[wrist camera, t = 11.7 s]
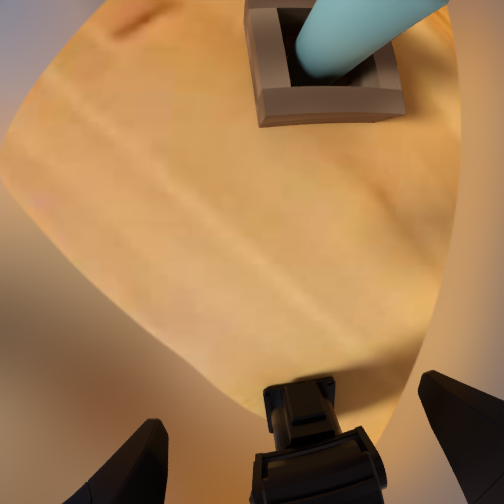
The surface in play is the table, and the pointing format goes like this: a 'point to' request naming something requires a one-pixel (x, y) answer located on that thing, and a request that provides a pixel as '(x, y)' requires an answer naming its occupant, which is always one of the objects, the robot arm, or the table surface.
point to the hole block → (313, 97)
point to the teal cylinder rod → (349, 35)
